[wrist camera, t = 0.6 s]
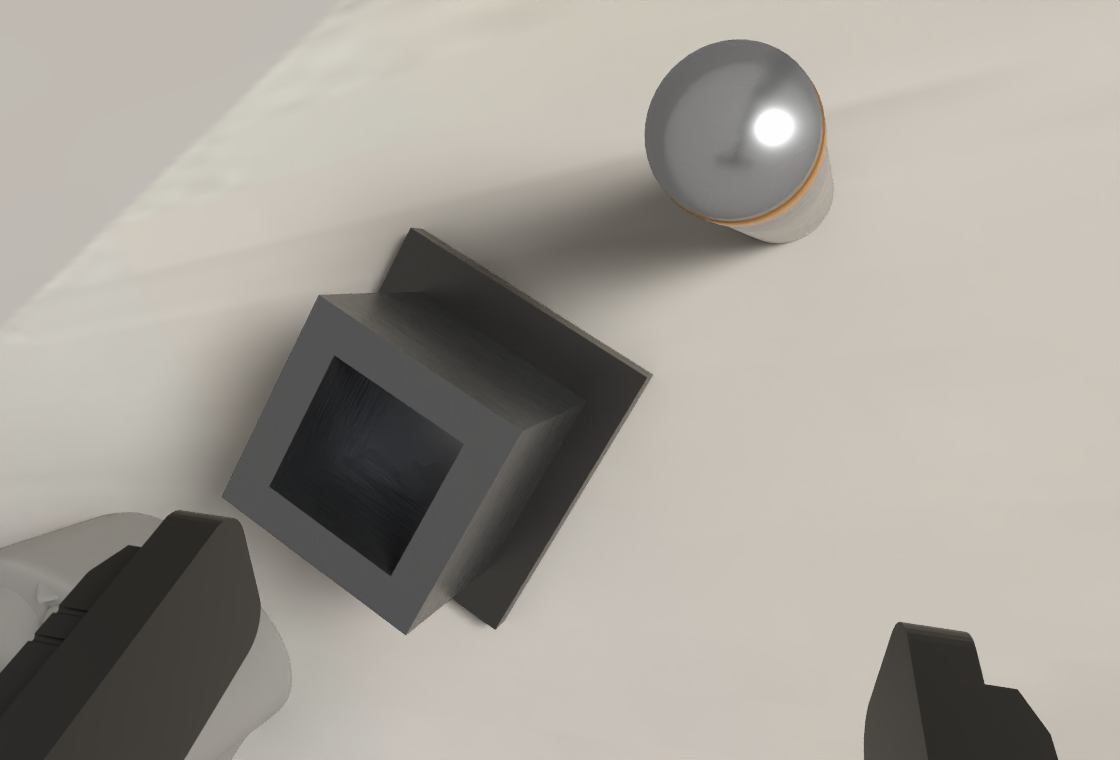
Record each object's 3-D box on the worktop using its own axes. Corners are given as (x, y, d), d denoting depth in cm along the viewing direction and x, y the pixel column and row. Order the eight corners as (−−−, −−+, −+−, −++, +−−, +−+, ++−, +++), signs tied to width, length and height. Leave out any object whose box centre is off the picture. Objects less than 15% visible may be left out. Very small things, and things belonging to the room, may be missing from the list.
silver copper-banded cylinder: (763, 119, 32) (700, 5, 18) (856, 170, 31) (861, 89, 18) (708, 212, 33) (611, 167, 19) (797, 264, 32) (760, 254, 19)
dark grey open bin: (422, 229, 36) (309, 216, 28) (652, 374, 34) (596, 402, 26) (299, 472, 39) (167, 518, 32) (504, 620, 37) (415, 709, 29)
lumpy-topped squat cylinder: (193, 799, 43) (38, 922, 35) (29, 597, 45) (-154, 669, 37) (319, 669, 40) (182, 770, 32) (137, 458, 42) (-36, 502, 34)
